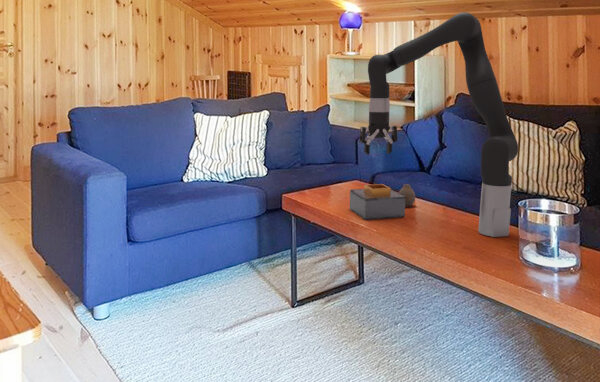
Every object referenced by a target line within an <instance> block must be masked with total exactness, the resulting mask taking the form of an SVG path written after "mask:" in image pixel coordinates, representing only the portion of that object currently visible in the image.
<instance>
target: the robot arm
mask: <svg viewBox="0 0 600 382" xmlns="http://www.w3.org/2000/svg"><path fill="white" fill-rule="evenodd" d="M482 29H483V28H482V26H481V23H480V20H479V19H478V18H477V17H476V16H474V15H473V14H472V13H469V12H466V11H465V12H458V13H457V14H455V15H453V16H452V17H450V18H448V19H446V20H445V21H444V22H443V23H441V24H439V25H438V26H436V27H434V28H433V29H431V30H430V31H428V32H426V33H424V34H422V35H419V36H418V37H415V38H413V39H410V40H409V41H407V42H405V43H402V44H400V45H398V46H396V47H394V48H393V49H392V50H391V51H389V52H387V53H385V54H374V55H373V56H372V57H371V58H370V59H369V61H368V65H367V75H368V80H369V85H370V90H369V92H370V93H369V103H368V104H369V106H368V126H360V130H359V143H361V144H364V147H363V149H364V151H363V152H364V154H366V155H368V156H369V155H370V154H371V153H370V149H371V148H370V145H371V144H370V143H371V142H372V141H373V140H374V139H379V138H380V139H385V141H386V154H389V155H390V154H391V153H392V152H393V144H394V143H397V141H398V126H396V125H390V113H391V112H390V105H391V104H390V84H389V83H388V80H387V75H388V74H390V73H392V72H394V71H396V70H398V69H399V68H401V67H403V66H406V65H408V64H410V63H412V62H415V61H417V60H420V59H422V58H423V57H424V56H426V55H427V54H430V53H431V52H433V50H435V49H438V48H439V47H441V46H443V45H447V44H450V43H453V42H457V43H458V45H459V48H460V50H461V53H462V56H463V59H464V66H465V69H464V70H465V82H466V87H467V91H468V94H469V97H470V100H471V103H472V105H473V106H474V108H475V110H476V111H477V113H478V114H479V115H480V117H481V118H482V120H483V121H484V123H485V125H486V126H487V130H488V134H489V137H488V138H487V139H486V140H485V141H484V143H483V144H482V147H481V151H480V152H481V153H480V175H481V179H482V180H481V181H482V182H481V192H480V205H479V217H478V218H479V219H478V231H477V232H478V233H479V234H481V235H483V236H488V237H492V238H501V237H508V236H510V224H511V215H512V214H511V213H512V212H511V211H512V209H511V208H510V206H511V205H510V203H511V194H512V183H513V177H512V175H511V174H510V173H509V162H511V161H513V160H515V158H516V157H517V156H518V154H519V143H518V140H517V138H516V136H515V133H514V131H513V129H512V127H511V125H510V121H509V118H508V117H507V113H506V109H505V106H504V102H503V99H502V96H501V93H500V88H499V85H498V82H497V78H496V76H495V72H494V70H493V67H492V64H491V62H490V58H489V57H488V54H487V51H486V47H485V42H484V37H483V31H482ZM389 131H390V132H391V135H390V134H389ZM367 132H368V135H366V133H367Z"/></svg>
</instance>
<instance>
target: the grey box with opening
mask: <svg viewBox="0 0 600 382" xmlns="http://www.w3.org/2000/svg"><path fill="white" fill-rule="evenodd" d="M405 197H406V196H404V195H402V194H400V193H399V192H397V191H395V190H394V189H392V188H391V187H390V186H387V185H385V184H383V183H379V184H377V183H376V184H375V183H374V184H363V188H355V189H354V188H353V189H349V211H351V212H352V213H354V214H355V213H356V215H357V216H358V217H360V218H362V219H363V220H364V221H369V220H371V221H373V220H385V219H394V218H395V219H396V218H397V219H398V218H405V216H406V215H405V214H406V213H405V212H406V207H405Z"/></svg>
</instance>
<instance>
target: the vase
mask: <svg viewBox="0 0 600 382" xmlns="http://www.w3.org/2000/svg"><path fill="white" fill-rule="evenodd" d="M398 193H400V194H402V195H404V196H406V197H405V208H411V207H413V205H414V204H415V201H416V193H415V191H414V190H413V188H412V187H411V185H410V184H407V183H406V184H403V186H402V187H401V189H399V192H398Z"/></svg>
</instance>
